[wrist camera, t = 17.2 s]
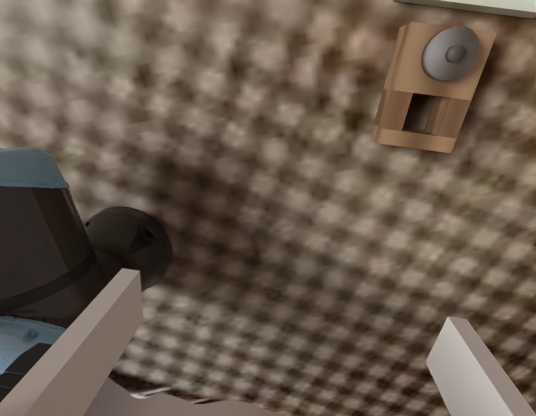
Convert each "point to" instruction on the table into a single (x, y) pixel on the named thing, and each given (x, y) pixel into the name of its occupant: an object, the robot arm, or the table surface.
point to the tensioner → (431, 83)
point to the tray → (485, 6)
